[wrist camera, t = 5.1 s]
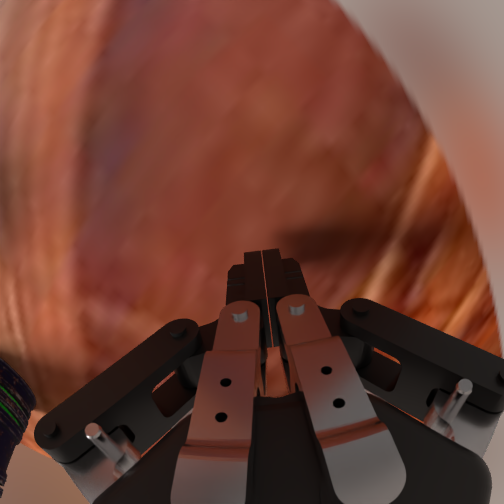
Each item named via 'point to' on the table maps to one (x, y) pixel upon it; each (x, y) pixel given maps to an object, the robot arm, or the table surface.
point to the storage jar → (12, 414)
